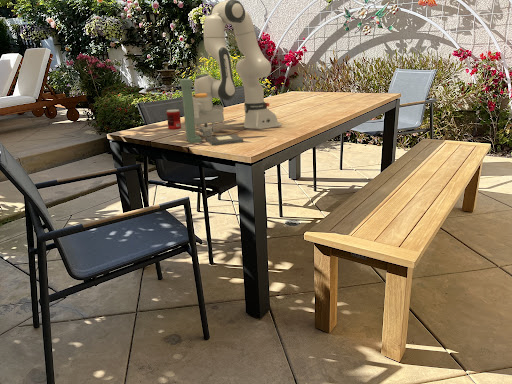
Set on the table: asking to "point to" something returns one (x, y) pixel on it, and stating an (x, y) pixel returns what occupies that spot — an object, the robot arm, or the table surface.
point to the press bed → (224, 139)
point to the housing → (206, 130)
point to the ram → (195, 103)
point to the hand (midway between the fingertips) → (206, 131)
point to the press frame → (188, 111)
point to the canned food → (173, 119)
